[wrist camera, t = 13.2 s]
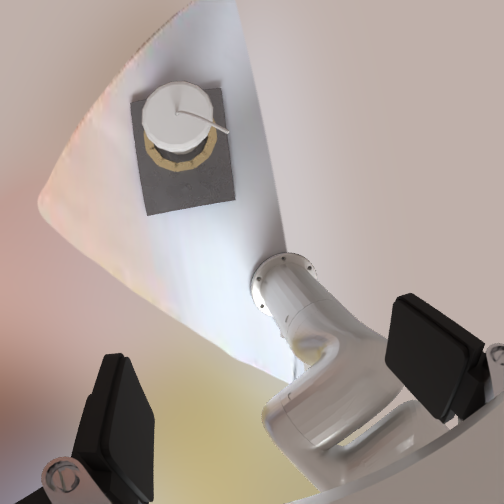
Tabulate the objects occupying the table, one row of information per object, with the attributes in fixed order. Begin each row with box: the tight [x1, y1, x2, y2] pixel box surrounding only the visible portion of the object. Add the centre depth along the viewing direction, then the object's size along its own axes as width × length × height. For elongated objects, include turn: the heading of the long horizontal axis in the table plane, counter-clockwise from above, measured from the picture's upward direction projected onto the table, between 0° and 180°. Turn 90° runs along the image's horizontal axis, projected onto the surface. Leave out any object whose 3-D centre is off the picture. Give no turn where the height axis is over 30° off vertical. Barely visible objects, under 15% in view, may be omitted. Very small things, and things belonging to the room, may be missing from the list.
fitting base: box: [130, 88, 235, 216], centre depth 41 cm, size 18×14×6 cm
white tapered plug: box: [142, 81, 229, 155], centre depth 27 cm, size 6×6×30 cm
